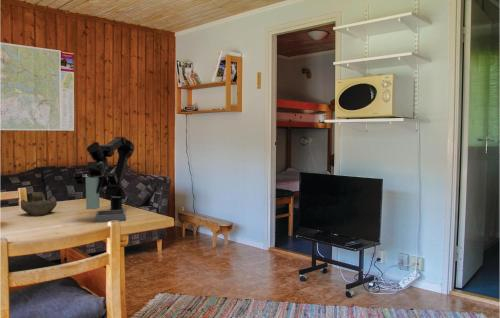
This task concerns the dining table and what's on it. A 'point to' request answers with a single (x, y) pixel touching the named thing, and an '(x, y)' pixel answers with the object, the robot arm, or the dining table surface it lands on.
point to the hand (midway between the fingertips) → (91, 193)
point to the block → (92, 193)
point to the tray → (109, 215)
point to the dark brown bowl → (38, 204)
